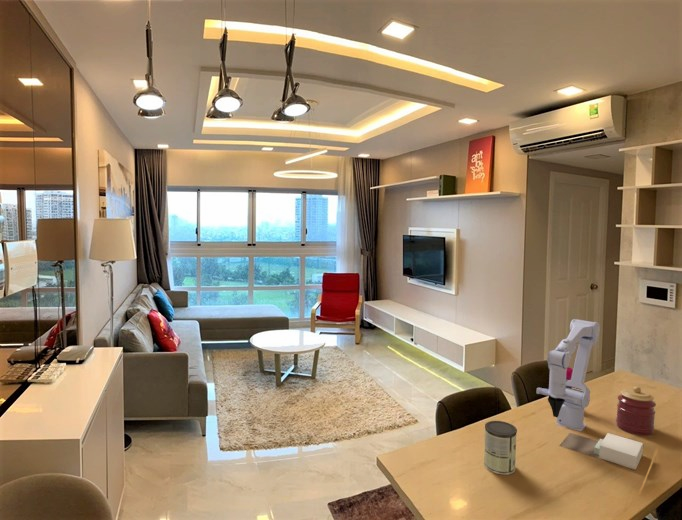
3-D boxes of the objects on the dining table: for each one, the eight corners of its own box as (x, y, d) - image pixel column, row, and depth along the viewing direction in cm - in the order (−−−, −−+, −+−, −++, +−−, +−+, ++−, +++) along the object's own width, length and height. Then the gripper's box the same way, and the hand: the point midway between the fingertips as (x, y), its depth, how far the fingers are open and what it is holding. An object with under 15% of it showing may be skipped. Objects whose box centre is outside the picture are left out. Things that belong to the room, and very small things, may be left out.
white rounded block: (598, 457, 155) (599, 445, 155) (607, 444, 164) (607, 432, 164) (635, 469, 148) (636, 456, 147) (642, 455, 157) (642, 443, 156)
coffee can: (482, 457, 156) (483, 419, 155) (512, 460, 154) (514, 422, 153) (485, 473, 146) (486, 432, 145) (518, 476, 144) (519, 436, 143)
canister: (653, 439, 169) (656, 395, 168) (614, 429, 177) (616, 387, 175) (654, 426, 180) (657, 385, 178) (617, 418, 187) (619, 378, 186)
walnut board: (559, 447, 163) (559, 445, 163) (570, 433, 174) (570, 432, 174) (635, 472, 147) (635, 470, 147) (642, 455, 157) (642, 454, 157)
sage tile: (593, 453, 158) (594, 447, 158) (599, 444, 164) (600, 438, 164) (629, 465, 150) (630, 458, 150) (634, 455, 157) (634, 449, 156)
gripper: (534, 379, 169) (532, 413, 170) (575, 389, 159) (573, 425, 160) (540, 375, 174) (539, 408, 175) (580, 384, 164) (578, 419, 166)
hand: (555, 416), depth 168 cm, fingers closed
